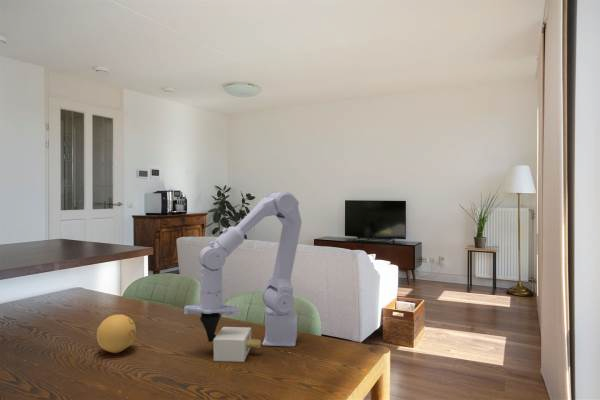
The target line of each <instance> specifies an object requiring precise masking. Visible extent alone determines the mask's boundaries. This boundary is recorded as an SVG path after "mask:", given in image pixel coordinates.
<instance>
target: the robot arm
mask: <svg viewBox="0 0 600 400" xmlns="http://www.w3.org/2000/svg"><path fill="white" fill-rule="evenodd" d="M299 205H300V202H299V200H298V199H297V197H296V196H295V195H294V194H293V193H291V192H289V191H282V192H278V191H271V192H270V193H268V194H267V195H266V196H265V197H263V198H262V199H261V200H259V202H258V203H257V204H256V205H255V206H254V207H253V208H252V209H251V210H250V211H249V212H248V213H247V215H246V216H245V217H243V218H242V219H241V220H240V222H239V223H238V224H236V225H235V226H229V227H224V228H223V229H222V230H221V232H222V233H221V234H220V235H218V237H217V238H216V239H215V240H211V241H210V242H209V246H205V247H203V248H202V249H201V250H200V252H199V254H198V256H197V259H198V262H199V264H201V265H200V268H201V269H200V304H194V305H192V304H191V305H190V304H189V305H188V304H187V305H185V306H184V307H183V315H189V314H191V315H200V316H201V317H200V319H199V320H200V322H201V323H202V325H203V327H204V330H205V332H206V337H207V341H208V342H210V343H211V342H212V341H213V337H214V335H215V334H216V330H217V327H218V324H219V322H220V320H221V318H222V315H225V316H231V315H232V316H233V317H235V316H236V317H237V316H238V315H239V306H232V305H227V304H226V305H225V304H223V267H224V265H225V264H226V259H227V258H228V257H230V255H231V254H232V253H234V251H235V250H237V248H239V247H240V246H241V245H242V244H243V242H245V241H244V240H245V236H246V234H247V233H248V232H249V231H251V230H252V229H253V228H254V227H255V226H256V225H257V224H259V223H260V222H261V221H262V220H263V219H264V218H266V217H270V216H276V218H277V219H278V220H279V222H280V223H281V224H282V228H281V232H280V233H281V234H280V238H279V243H278V247H277V251H276V258H275V263H274V268H273V273H272V276H271V278H270V279H269V280H268V281H267V285H266V288H265V289H264V290H263V293H262V296H261V297H262V298H261V299H262V301H263V303H264V305H265V312H264V313H265V318H264V319H265V320H264V321H265V327H264V328H265V329H264V331H265V333H264V338H263V341H262V342H261V346H266V347H268V346H271V347H272V346H273V347H275V346H276V347H295V346H296V345H297V339H298V331H297V330H298V327H297V326H298V314H297V311H292V309H293V307H294V303H295V300H294V296H293V293H294V287H293V285H292V281H291V278H292V273H293V267H294V263H295V259H296V252H297V248H298V243H299V238H300V232H301V226H302V217H301V213H300V210H299V209H300V208H299Z"/></svg>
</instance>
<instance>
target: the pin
mask: <svg viewBox="0 0 600 400" xmlns="http://www.w3.org/2000/svg"><path fill="white" fill-rule="evenodd" d="M216 336H217V334H216V333H215V334H214V337H213V341H212V344H211V347H212V351H214V338H215V337H216ZM261 346H262V339H261V338H260V339H259V338H251V339H246V347H247V348H250V349H251V348H255V349H260V348H261Z"/></svg>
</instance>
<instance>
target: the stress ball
mask: <svg viewBox="0 0 600 400" xmlns="http://www.w3.org/2000/svg"><path fill="white" fill-rule="evenodd" d="M136 332H137V328H136V325H135V322H134V320H133V318H131V317H129V316H127V315H126V314H123V313H121V314H113V315H110V316H108V317H106V318H105V319H103V321H101V322H100V324H99V326H98V328H97V331H96V340H97V343H98V345H99V346H100V347H101V348H102V350H104V351H106V352H109V353H112V354H119V353H121V352H122V351H124V350H126V349H127V348H128V347H130V346H131V345H132V344H133V342H134V340H135V338H136V335H137V333H136Z"/></svg>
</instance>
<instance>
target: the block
mask: <svg viewBox="0 0 600 400" xmlns="http://www.w3.org/2000/svg"><path fill="white" fill-rule="evenodd" d="M216 335H217V336H216V337H215V338H214V350H213V361H214V362H239V363H241V362H242V363H244V362H245V361H246V358H247V357H248V355H249V352H250V350H251V348H247V347H246V339H252V327H247V326H246V327H244V326H243V327H242V326H241V327H240V326H237V327H236V326H223V327H222V328H221V329H220V330H219V332H218V333H217V334H216Z"/></svg>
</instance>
